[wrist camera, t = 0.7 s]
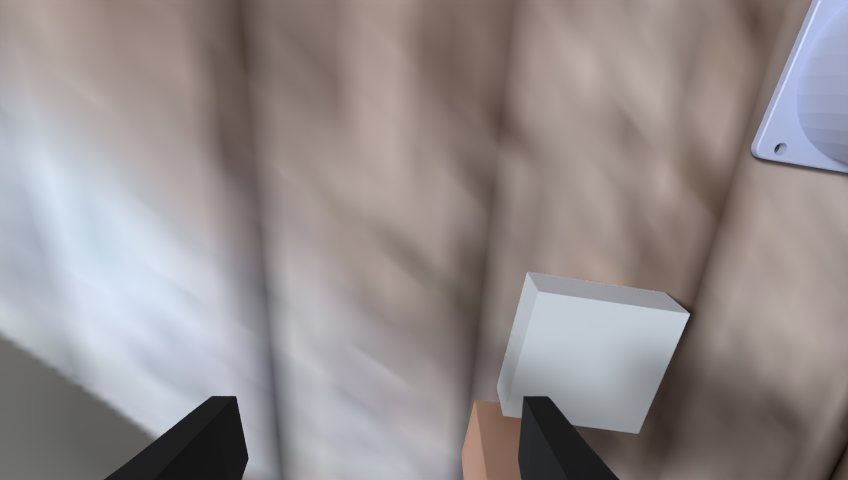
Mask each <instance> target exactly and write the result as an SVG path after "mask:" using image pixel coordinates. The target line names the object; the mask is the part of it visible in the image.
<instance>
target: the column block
mask: <svg viewBox="0 0 848 480" xmlns="http://www.w3.org/2000/svg"><path fill="white" fill-rule="evenodd" d="M520 429H521V418H516V417H508V416H503V413H502V409H501V404H500V403H497V402H489V401H482V400H475V402H474V406H473V410H472V414H471V418H470V422H469V426H468V430H467V434H466V438H465V442H464V446H463V450H462V464H463V475H464V480H521V475H520V469H519V463H518V451H519V440H520Z"/></svg>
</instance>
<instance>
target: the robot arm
mask: <svg viewBox="0 0 848 480" xmlns="http://www.w3.org/2000/svg"><path fill="white" fill-rule="evenodd" d="M778 144H779V145H780V147H779V150H778V151H777V152H776V153H775V152H774V149H775V147H776V146H777V145H778ZM751 151H752V154H753V155H754V156H755V157H757V158H762V159H767V160H773V161H779V162H785V163H791V164H797V165H803V166H809V167H816V168H822V169H828V170H834V171H840V172H846V173H848V0H813V1H812V3H811V5H810V8H809V10H808V12H807V15H806V17H805V20H804V22H803V24H802V27H801V29H800V31H799V34H798V36H797V39H796V41H795V43H794V46H793V48H792V51H791V53H790V55H789V58H788V60H787V62H786V65H785V67H784V70H783V72H782V74H781V77H780V79H779V82H778V84H777V86H776V89H775V91H774V93H773V96H772V98H771V101H770V103H769V105H768V108H767V110H766V112H765V115H764V117H763V120H762V122H761V124H760V127H759V129H758V132H757V134H756V136H755V139H754V141H753V143H752V147H751ZM248 459H249V458H248V453H247V448H246V443H245V438H244V433H243V428H242V423H241V418H240V413H239V408H238V403H237V398H236V396H212V397H210V398H209V399H208V400H206V401H205V402H204V403H202V404H201V405H200V406H198V407H197V408H196V409H194V410H193V411H192V412H191V413H189V414H188V415H187V416H186V417H184V418H183V419H182V420H181V421H179V422H178V423H177V424H176V425H174V426H173V427H172V428H171V429H169V430H168V431H167V432H166V433H164V434H163V435H162V436H161V437H159V438H158V439H157V440H155V441H154V442H153V443H152V444H150V445H149V446H148V447H147V448H145V449H144V450H143V451H141V452H140V453H139V454H138V455H136V456H135V457H134V458H133V459H132V460H130V461H129V462H127V463H126V464H125V465H124V466H122V467H121V468H120V469H118V470H117V471H115V472H114V473H112V474H111V475H110V476H108V477H107V478H106V479H104V480H241V479H242V477H243V474H244V471H245V468H246V465H247V462H248ZM518 463H519V469H520V475H521V480H619V479H618V478H617V477H616V476H615V474H614V473H613V472H612V471H611V470H610V469H609V468H608V467H607V465H606V464H605V463H604V462H603V461H602V460H601V459H600V458H599V456H598V455H597V454H596V453H595V452H594V451H593V450H592V449H591V447H590V446H589V445H588V444H587V443H586V442H585V440H584V439H583V438H582V437H581V436H580V434H579V433H578V432H577V431H576V429H575V428H574V427H573V426H572V425H571V423H570V422H569V421H568V420H567V418H566V417H565V416H564V415H563V413H562V412H561V411H560V410H559V408H558V407H557V406H556V405H555V403H554V402H553V401H552V400H551V399H550V398H549V397H548V396H523V406H522V418H521V429H520V440H519V451H518Z"/></svg>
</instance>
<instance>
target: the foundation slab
mask: <svg viewBox="0 0 848 480" xmlns="http://www.w3.org/2000/svg"><path fill="white" fill-rule="evenodd" d="M689 316H690V313H688V312H687V311H686V310H685V309H684V308H683V307H681V306H680V305H679V304H678V303H677V302H675V301H674V300H673V299H672V298H671V297H670V296H668V295H667V294H666V293H665V292H659V291H652V290H645V289H639V288H632V287H626V286H619V285H612V284H606V283H599V282H592V281H586V280H579V279H573V278H566V277H559V276H553V275H546V274H539V273H533V272H527V275H526V279H525V283H524V286H523V290H522V294H521V297H520V301H519V305H518V309H517V312H516V316H515V320H514V324H513V327H512V331H511V335H510V339H509V342H508V346H507V350H506V354H505V357H504V361H503V365H502V369H501V372H500V376H499V380H498V384H497V392H498V396H499V400H500V404H501V409H502V413H503V416H508V417H516V418H522V406H523V396H548V397H549V398H550V399H551V400H552V401H553V402H554V403H555V405H556V406H557V407H558V408H559V410H560V411H561V412H562V413H563V415H564V416H565V417H566V418H567V420H568V421H569V422H570V423H571V425H576V426H583V427H591V428H598V429H606V430H613V431H621V432H628V433H636V434H639V431H640V429H641V427H642V424H643V422H644V420H645V417H646V415H647V413H648V410H649V408H650V406H651V403H652V401H653V399H654V397H655V394H656V392H657V390H658V387H659V385H660V383H661V380H662V378H663V376H664V373H665V371H666V369H667V366H668V364H669V362H670V359H671V357H672V355H673V353H674V350H675V348H676V346H677V343H678V341H679V339H680V336H681V334H682V332H683V329H684V327H685V325H686V322H687V320H688V318H689Z"/></svg>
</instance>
